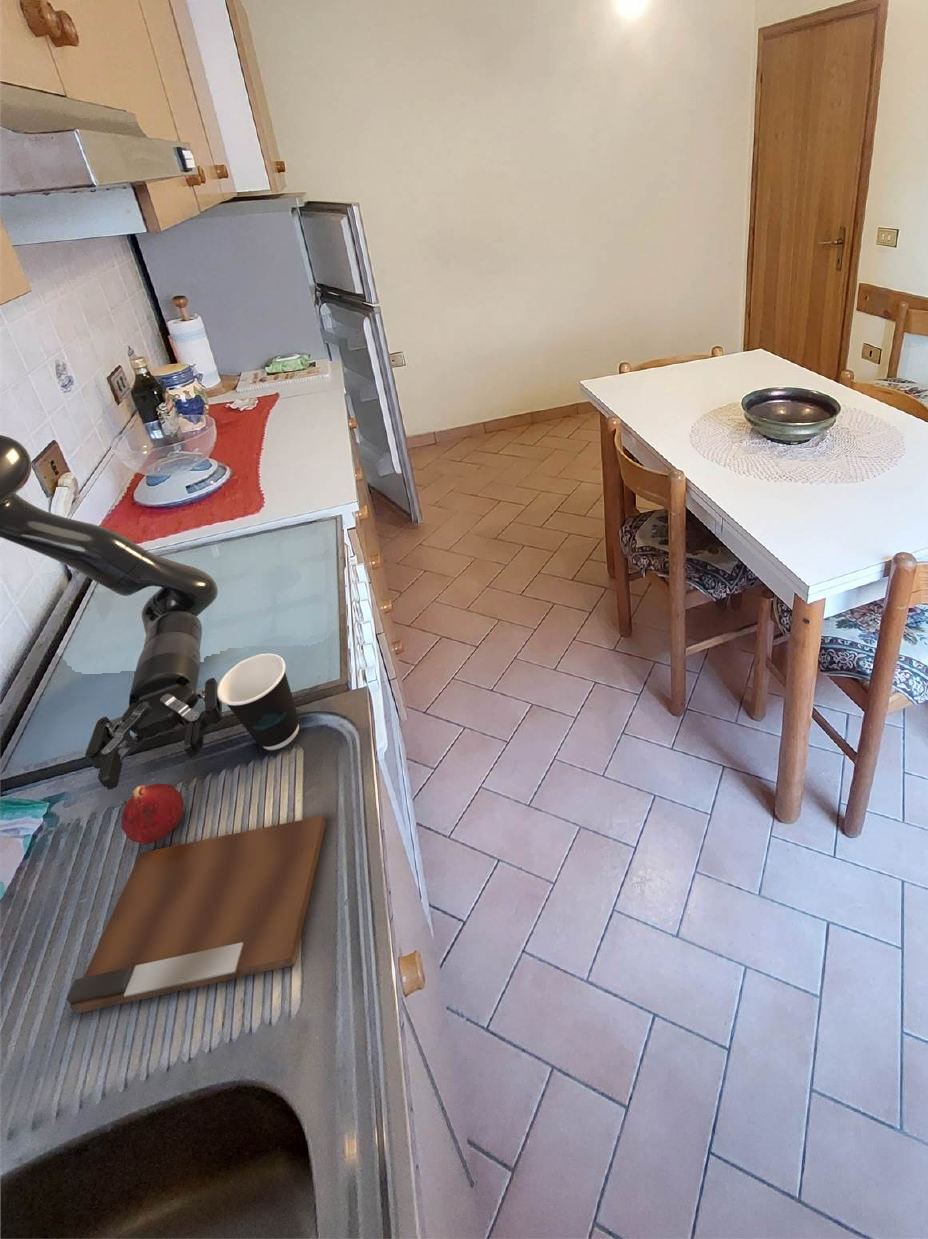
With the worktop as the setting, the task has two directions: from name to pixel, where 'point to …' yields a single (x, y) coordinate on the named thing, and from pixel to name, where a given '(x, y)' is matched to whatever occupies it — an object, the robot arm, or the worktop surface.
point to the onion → (152, 813)
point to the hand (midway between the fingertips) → (150, 768)
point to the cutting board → (205, 915)
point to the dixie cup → (261, 699)
